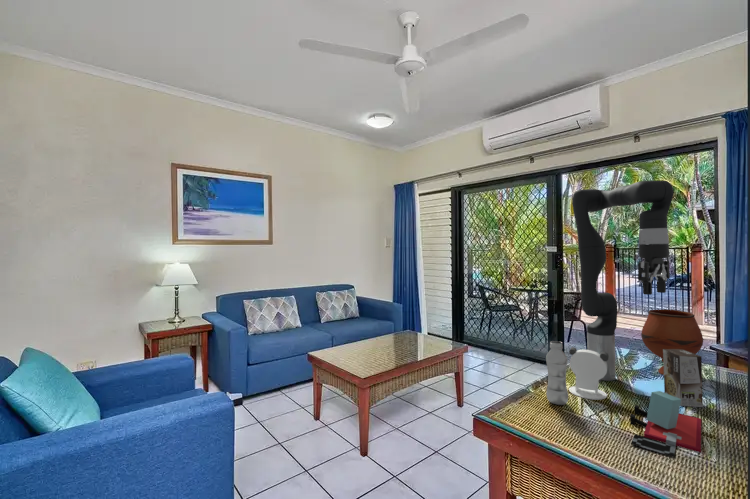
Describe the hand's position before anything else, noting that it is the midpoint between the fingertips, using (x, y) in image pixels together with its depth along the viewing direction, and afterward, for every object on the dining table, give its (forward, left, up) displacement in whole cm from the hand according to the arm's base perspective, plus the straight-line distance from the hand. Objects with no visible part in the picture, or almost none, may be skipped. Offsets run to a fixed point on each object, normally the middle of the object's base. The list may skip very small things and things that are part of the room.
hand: (654, 293), depth 113 cm
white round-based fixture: (-17, -8, -36) cm, 41 cm away
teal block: (+8, -15, -35) cm, 39 cm away
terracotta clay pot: (-12, +39, -36) cm, 55 cm away
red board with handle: (+9, -16, -37) cm, 41 cm away
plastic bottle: (-17, -25, -36) cm, 47 cm away
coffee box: (+2, +12, -36) cm, 38 cm away
